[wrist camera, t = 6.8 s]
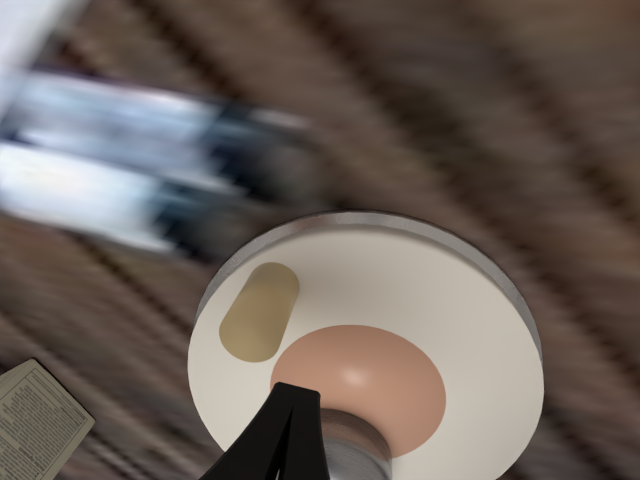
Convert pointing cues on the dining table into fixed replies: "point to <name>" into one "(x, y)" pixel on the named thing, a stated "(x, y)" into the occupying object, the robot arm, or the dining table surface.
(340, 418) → the cover
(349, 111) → the dining table surface
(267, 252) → the disc
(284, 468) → the robot arm
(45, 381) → the skincare box
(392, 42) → the dining table surface
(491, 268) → the turntable base
